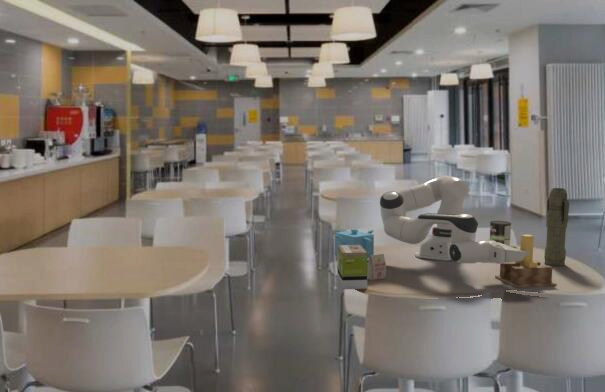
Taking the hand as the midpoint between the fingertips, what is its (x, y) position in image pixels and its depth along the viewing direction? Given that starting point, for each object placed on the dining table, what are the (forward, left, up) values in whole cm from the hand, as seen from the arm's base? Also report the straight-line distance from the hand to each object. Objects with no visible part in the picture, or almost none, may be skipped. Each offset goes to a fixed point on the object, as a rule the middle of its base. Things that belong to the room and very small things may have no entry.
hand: (522, 250), depth 246 cm
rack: (+2, +1, -13) cm, 13 cm away
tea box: (-63, -29, -13) cm, 71 cm away
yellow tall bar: (+2, +1, -11) cm, 11 cm away
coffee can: (-10, +66, -13) cm, 68 cm away
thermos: (+15, +39, -13) cm, 44 cm away
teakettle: (-75, +15, -13) cm, 77 cm away
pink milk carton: (-56, -16, -13) cm, 60 cm away
